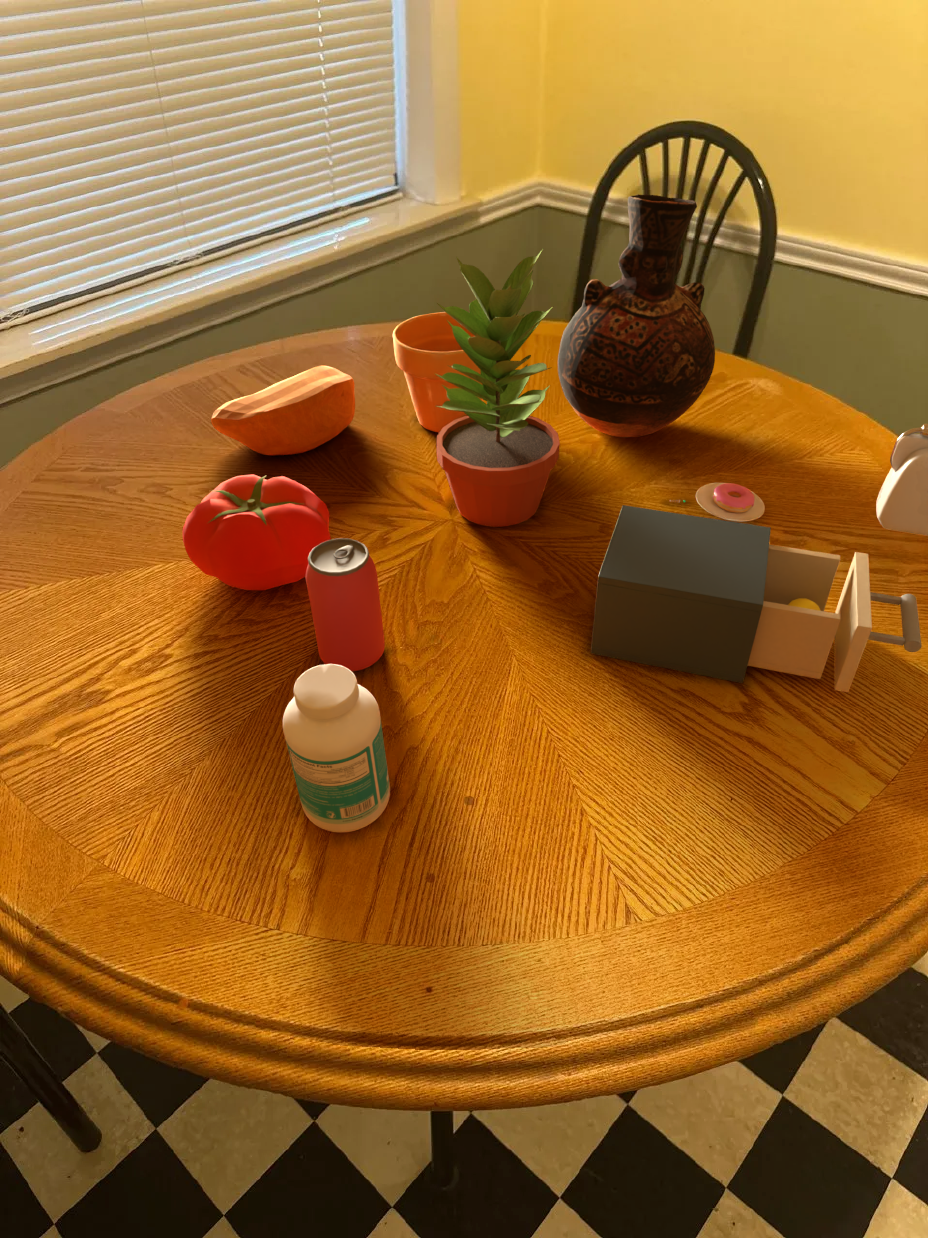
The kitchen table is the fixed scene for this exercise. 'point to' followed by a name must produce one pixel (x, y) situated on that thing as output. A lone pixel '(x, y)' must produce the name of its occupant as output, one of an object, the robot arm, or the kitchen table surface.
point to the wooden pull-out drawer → (822, 616)
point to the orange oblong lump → (291, 413)
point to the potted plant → (496, 407)
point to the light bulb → (804, 604)
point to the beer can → (345, 603)
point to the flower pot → (430, 365)
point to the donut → (730, 502)
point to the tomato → (256, 531)
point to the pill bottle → (336, 749)
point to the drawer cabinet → (681, 592)
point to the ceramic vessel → (640, 331)
